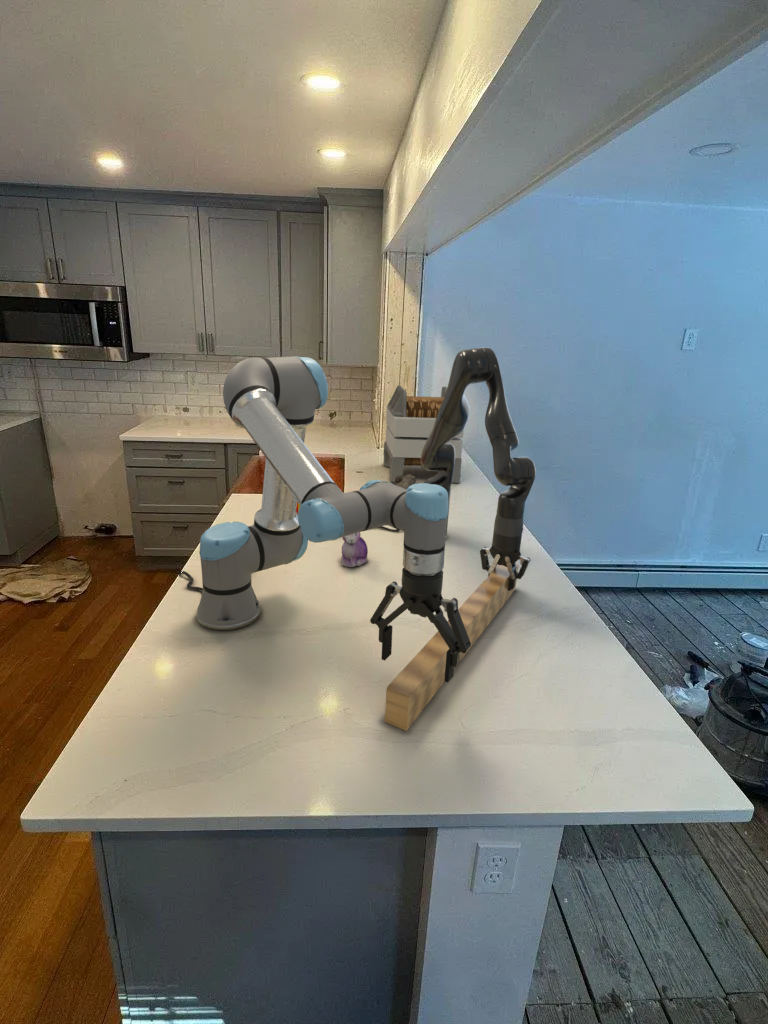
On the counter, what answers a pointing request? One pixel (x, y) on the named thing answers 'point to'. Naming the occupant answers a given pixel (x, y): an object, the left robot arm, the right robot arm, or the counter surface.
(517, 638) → the counter surface
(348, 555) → the figurine
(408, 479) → the fossil
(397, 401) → the transformer
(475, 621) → the post
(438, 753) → the counter surface
